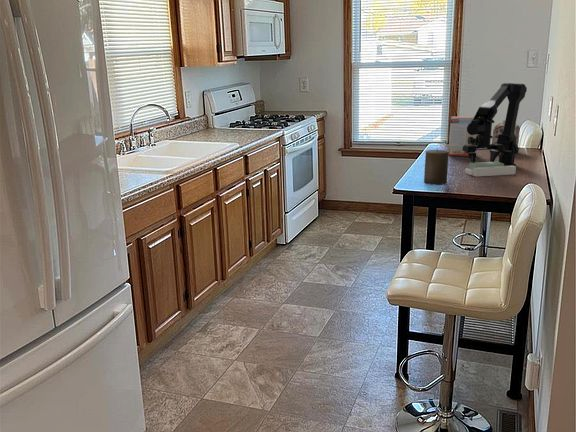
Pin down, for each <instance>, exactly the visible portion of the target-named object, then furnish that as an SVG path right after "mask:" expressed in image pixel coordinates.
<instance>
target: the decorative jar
mask: <svg viewBox="0 0 576 432" xmlns="http://www.w3.org/2000/svg"><path fill="white" fill-rule="evenodd" d="M505 120H506V119H504V120H502V122H500V123H496V124H495V125H494V127H493V128H492V130H493V131H492V138H491V144H497V140H498V135H499V134H501V133H502V132H503V130H504V125H505ZM520 128H521V127H520V125H519V124H517V123H516V124H515V130H514V134H515V137H516V144H517V146H518V147H519V141H520V131H521V129H520ZM499 155H500V153H499Z"/></svg>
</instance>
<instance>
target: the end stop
mask: <svg viewBox="0 0 576 432" xmlns="http://www.w3.org/2000/svg"><path fill="white" fill-rule="evenodd" d="M516 169H517V166H516V165H511V166H495V167H477V168H473V170H471V169H469V168H466V167H465V169H464V173H465V174H467V175H470V176H474V177H477V178H478V177H489V176H490V177H492V176H508V175H516Z"/></svg>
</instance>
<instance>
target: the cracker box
mask: <svg viewBox="0 0 576 432" xmlns="http://www.w3.org/2000/svg"><path fill="white" fill-rule="evenodd" d="M473 118H474V116H465V115H462V116H458V115H457V116H456V115H455V116H454V115H453V116H451V117H450V122H449V123H450V127H449V138H448V152H449V154H448V156H450V157H451V156H454V157H455V156H456V157H458V156H459V157H469V155H468V154H467V153H465V151H462V149H463V146H464V145H471V144H468V137H473V138H476V136H477V135H478V134H477V135H470V134H469V133H468V132H467V127H468V125H469V124H470V123H471V120H473Z"/></svg>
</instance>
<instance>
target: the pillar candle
mask: <svg viewBox="0 0 576 432" xmlns="http://www.w3.org/2000/svg"><path fill="white" fill-rule="evenodd" d="M448 154H449V150H444V149H439V148H438V147H437V148H436V149H428V150H425V156H424V157H425V161H424V174H423V175H424V177H423V183H425V184H429V185H436V186H437V185H439V186H440V185H445V184H447V183H448V168H449V167H448V166H449V155H448Z"/></svg>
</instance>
